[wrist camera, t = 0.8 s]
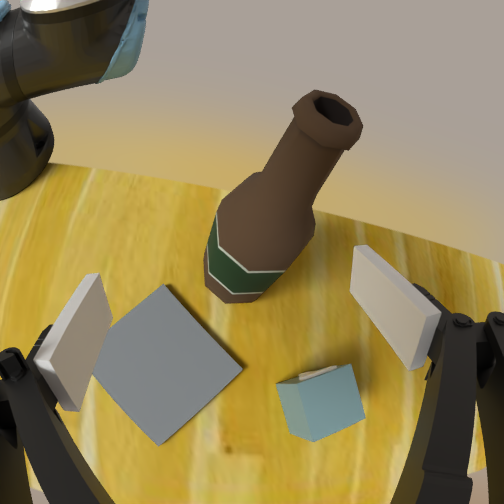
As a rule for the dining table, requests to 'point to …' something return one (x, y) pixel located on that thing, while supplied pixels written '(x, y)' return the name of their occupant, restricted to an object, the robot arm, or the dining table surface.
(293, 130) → the beer bottle
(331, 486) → the dining table surface
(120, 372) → the mat
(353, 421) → the letter block
